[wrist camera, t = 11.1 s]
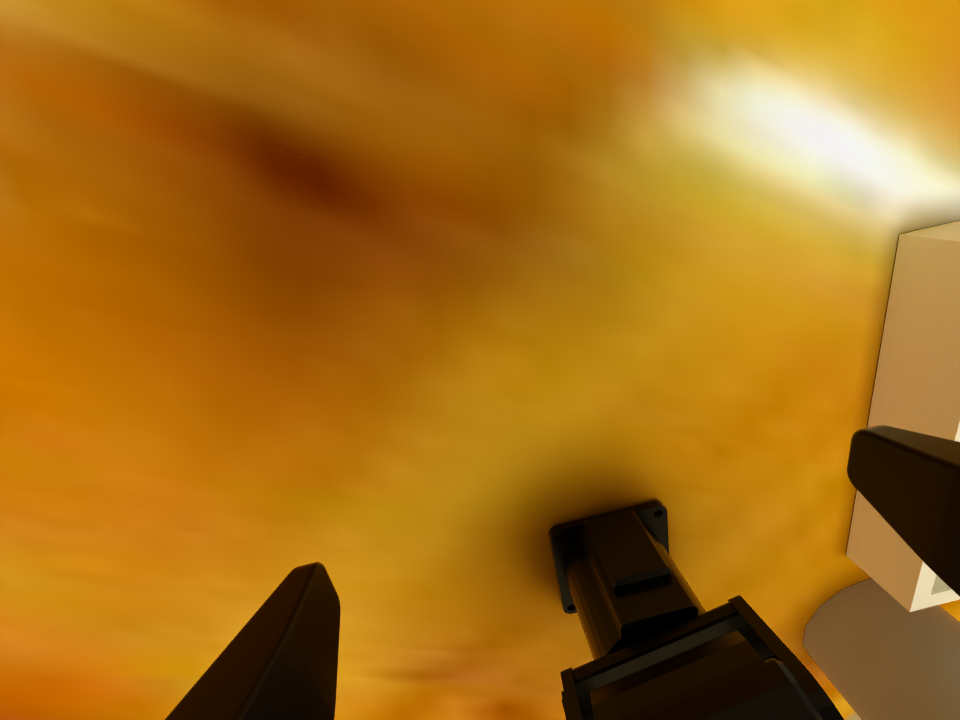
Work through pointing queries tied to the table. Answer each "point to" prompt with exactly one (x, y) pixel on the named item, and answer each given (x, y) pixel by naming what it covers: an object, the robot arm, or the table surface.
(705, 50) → the table surface
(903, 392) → the tray
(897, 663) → the cup
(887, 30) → the table surface
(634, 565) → the robot arm
